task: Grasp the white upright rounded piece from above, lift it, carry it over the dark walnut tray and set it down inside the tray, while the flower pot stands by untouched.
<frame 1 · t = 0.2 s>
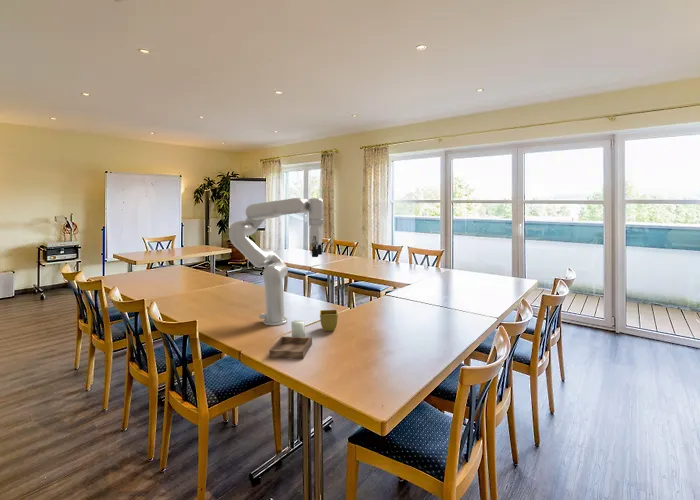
hand: (317, 255, 182), 36 cm above the table, tool pointing down, fingers open, 9 cm apart
white upright rounded piece: (298, 338, 165), on the table
flower pot: (329, 329, 177), on the table
tray: (291, 350, 151), on the table
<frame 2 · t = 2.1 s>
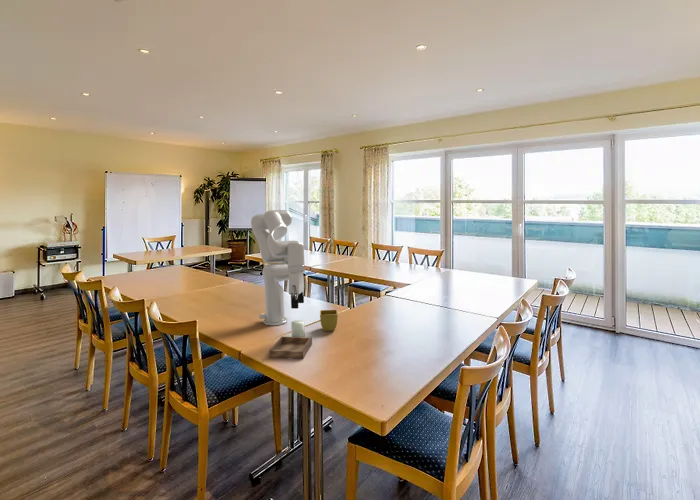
hand: (297, 305, 162), 16 cm above the table, tool pointing down, fingers open, 9 cm apart
nothing on the table moved.
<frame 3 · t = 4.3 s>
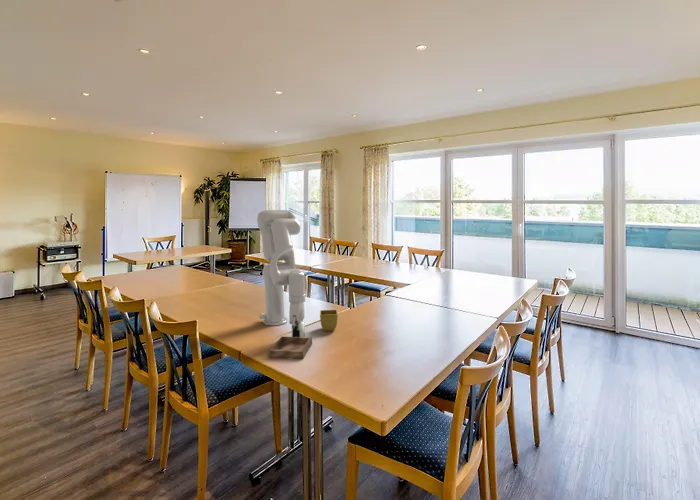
hand: (298, 335, 165), 2 cm above the table, tool pointing down, fingers closed on white upright rounded piece, 6 cm apart
white upright rounded piece: (298, 338, 165), on the table, touching gripper
everything else where it was.
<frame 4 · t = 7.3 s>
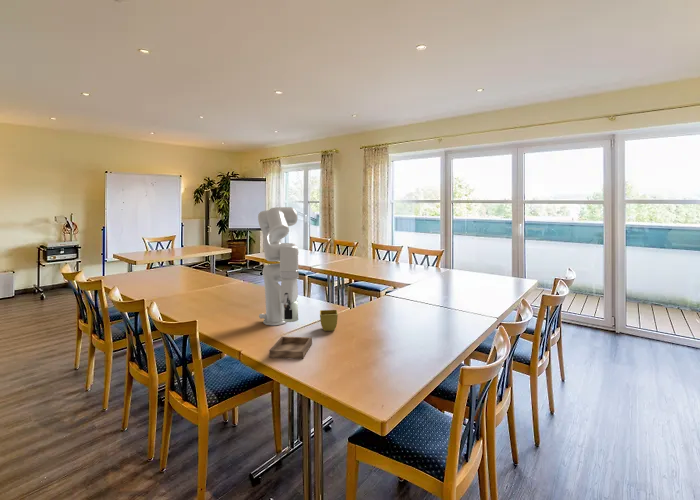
hand: (290, 316, 149), 15 cm above the table, tool pointing down, fingers closed on white upright rounded piece, 6 cm apart
white upright rounded piece: (291, 319, 149), point 14 cm above the table, touching gripper
everything else where it was.
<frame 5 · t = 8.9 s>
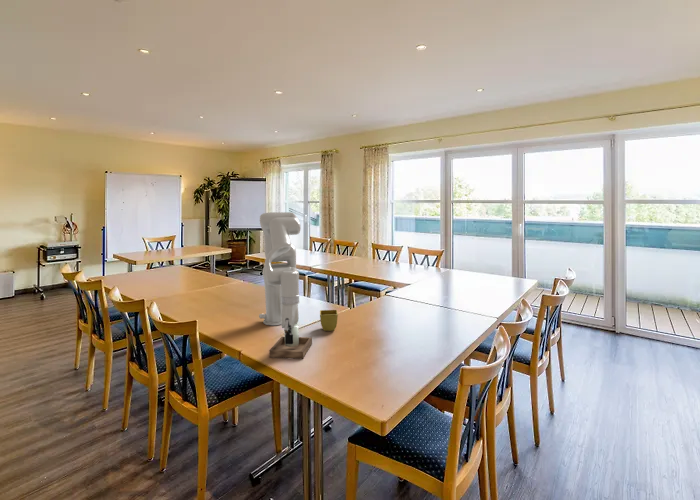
hand: (291, 340, 150), 5 cm above the table, tool pointing down, fingers closed on white upright rounded piece, 6 cm apart
white upright rounded piece: (291, 344, 150), point 3 cm above the table, touching gripper
everything else where it was.
when the fingers open (3 cm above the table, at t = 10.2 s): white upright rounded piece stays where it is, resting on tray.
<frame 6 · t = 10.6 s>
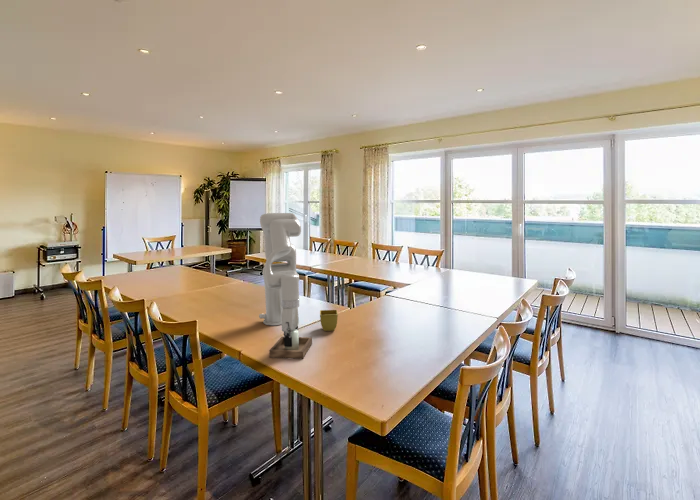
hand: (291, 342, 150), 4 cm above the table, tool pointing down, fingers open, 9 cm apart
white upright rounded piece: (291, 349, 151), point 1 cm above the table, touching tray
everything else where it was.
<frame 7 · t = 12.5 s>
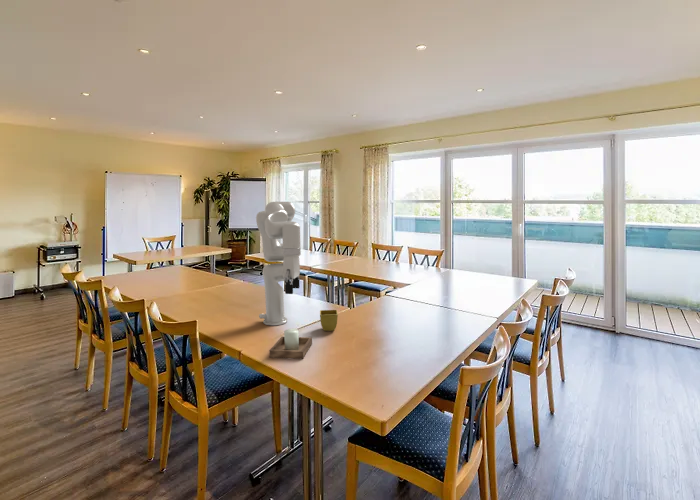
hand: (292, 290, 153), 25 cm above the table, tool pointing down, fingers open, 9 cm apart
nothing on the table moved.
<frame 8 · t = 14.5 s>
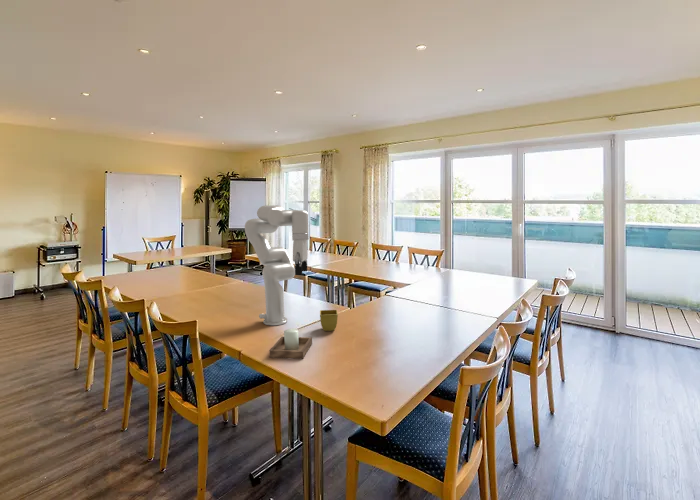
hand: (301, 273, 166), 30 cm above the table, tool pointing down, fingers open, 9 cm apart
nothing on the table moved.
at the end: white upright rounded piece inside the target area on the tray (0.0 cm from its centre), point 0.7 cm above the tray's base; white upright rounded piece tilted 2°; the gripper is holding nothing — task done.
